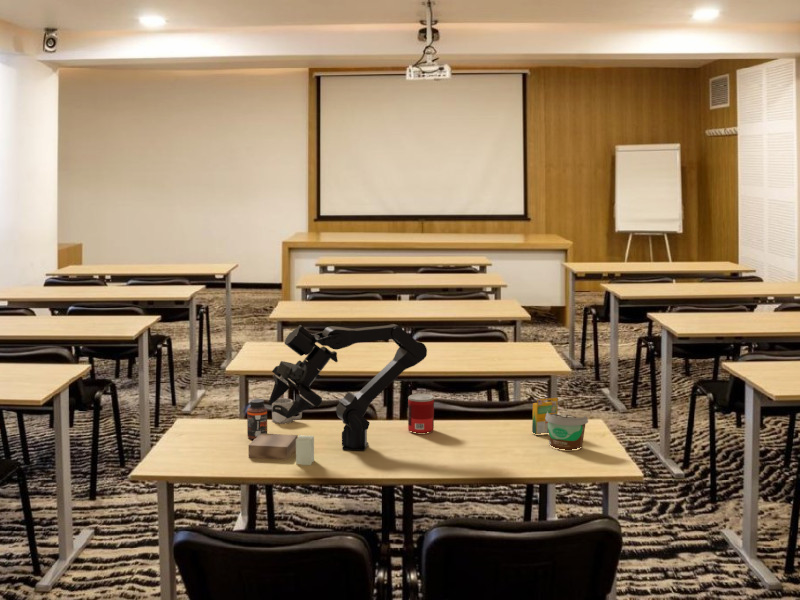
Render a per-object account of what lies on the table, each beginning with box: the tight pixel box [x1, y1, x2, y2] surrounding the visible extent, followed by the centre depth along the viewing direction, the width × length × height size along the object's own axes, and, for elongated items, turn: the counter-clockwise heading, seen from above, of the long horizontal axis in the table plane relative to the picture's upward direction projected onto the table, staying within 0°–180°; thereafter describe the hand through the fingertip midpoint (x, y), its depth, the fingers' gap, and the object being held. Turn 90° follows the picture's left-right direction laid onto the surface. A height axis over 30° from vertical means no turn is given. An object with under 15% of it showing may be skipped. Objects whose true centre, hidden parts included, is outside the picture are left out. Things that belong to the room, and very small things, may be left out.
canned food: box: [407, 393, 435, 433], centre depth 242 cm, size 8×8×11 cm
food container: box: [545, 411, 589, 450], centre depth 226 cm, size 12×6×10 cm, turn 70°
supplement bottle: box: [246, 398, 268, 440], centre depth 235 cm, size 6×6×11 cm
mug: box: [271, 397, 303, 425], centre depth 253 cm, size 10×7×7 cm, turn 77°
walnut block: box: [247, 433, 299, 461], centre depth 222 cm, size 11×11×4 cm
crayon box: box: [531, 397, 559, 434], centre depth 240 cm, size 7×3×12 cm, turn 108°
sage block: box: [295, 434, 315, 466], centre depth 213 cm, size 4×4×7 cm
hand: (278, 410), depth 217 cm, fingers open, 9 cm apart
